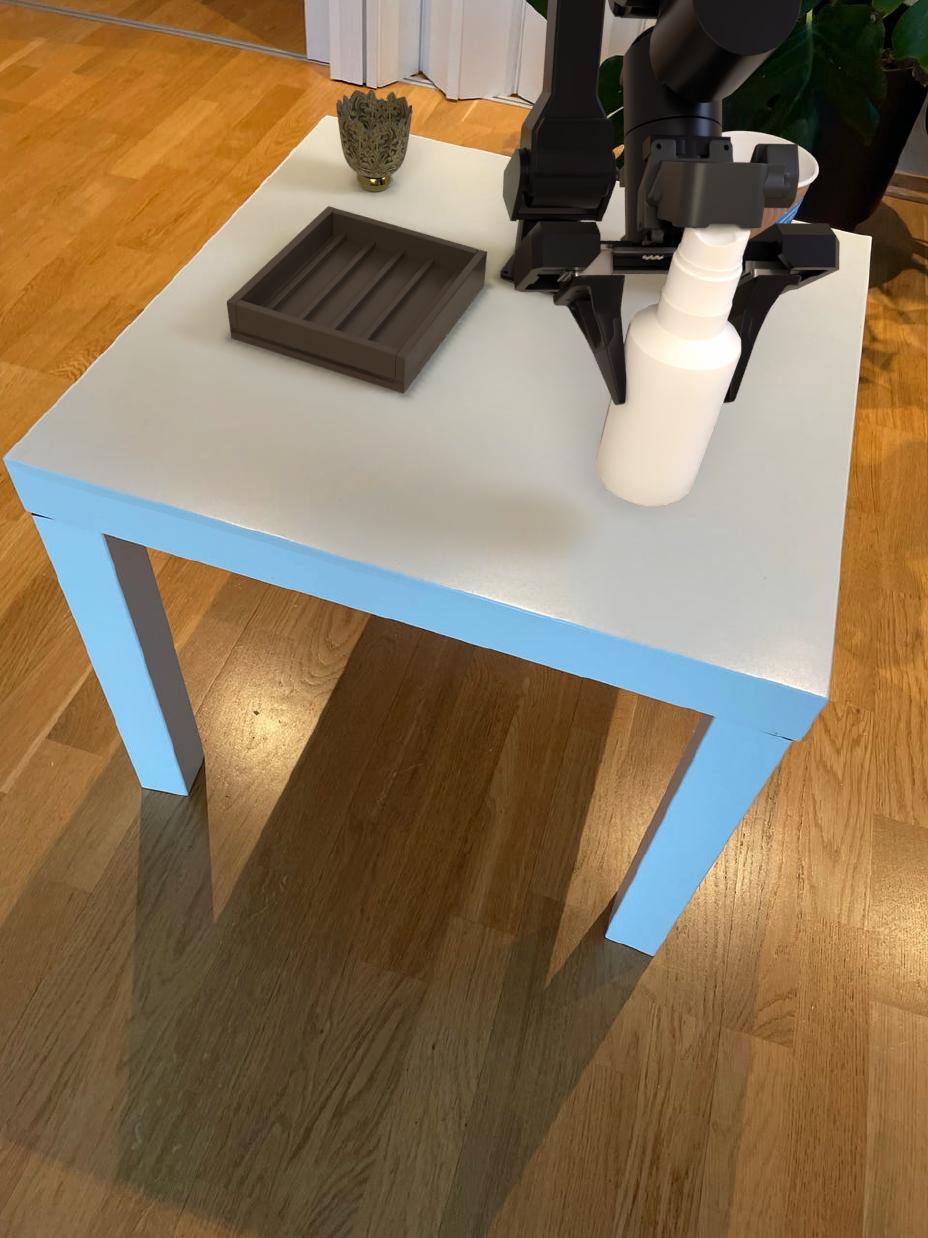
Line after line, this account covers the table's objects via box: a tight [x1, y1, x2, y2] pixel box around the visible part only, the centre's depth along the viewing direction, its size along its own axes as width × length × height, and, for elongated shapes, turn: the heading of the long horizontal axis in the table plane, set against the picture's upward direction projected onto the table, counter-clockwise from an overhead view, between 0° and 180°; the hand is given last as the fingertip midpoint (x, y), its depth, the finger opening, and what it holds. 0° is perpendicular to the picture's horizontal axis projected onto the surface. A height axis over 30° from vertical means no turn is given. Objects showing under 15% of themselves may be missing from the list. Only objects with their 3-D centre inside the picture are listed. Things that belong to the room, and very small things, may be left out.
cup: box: [335, 89, 413, 192], centre depth 95 cm, size 8×7×8 cm
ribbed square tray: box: [226, 205, 488, 394], centre depth 82 cm, size 18×16×4 cm
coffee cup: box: [722, 130, 820, 240], centre depth 87 cm, size 10×10×12 cm
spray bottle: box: [594, 224, 750, 507], centre depth 58 cm, size 7×7×18 cm
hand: (674, 403), depth 58 cm, fingers closed on spray bottle, 7 cm apart
